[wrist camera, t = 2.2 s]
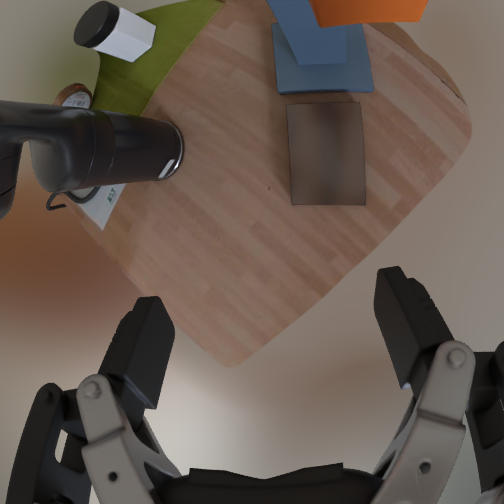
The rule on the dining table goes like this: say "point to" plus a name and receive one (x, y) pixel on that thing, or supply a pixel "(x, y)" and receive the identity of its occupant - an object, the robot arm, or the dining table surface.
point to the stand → (317, 52)
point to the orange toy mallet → (366, 11)
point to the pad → (326, 154)
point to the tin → (74, 96)
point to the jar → (114, 31)
